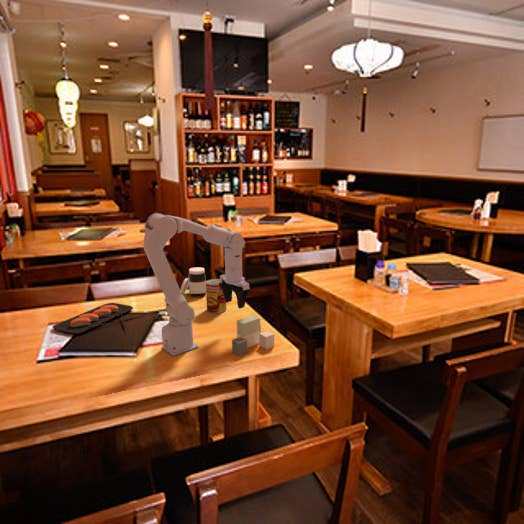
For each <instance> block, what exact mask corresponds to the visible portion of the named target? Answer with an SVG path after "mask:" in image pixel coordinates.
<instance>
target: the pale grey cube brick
mask: <svg viewBox="0 0 524 524" xmlns="http://www.w3.org/2000/svg"><path fill="white" fill-rule="evenodd" d="M259 339H260V343H259V347H261V348H262V349H265V350H269V349H271V348H274V347H275V334H274V333H272V332H271V331H268V330H266V331H263V332H261V333H260V334H259Z"/></svg>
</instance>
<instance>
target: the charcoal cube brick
mask: <svg viewBox="0 0 524 524" xmlns="http://www.w3.org/2000/svg"><path fill="white" fill-rule="evenodd" d="M231 348H232V349H231V350H232V354H234V355H236V356H238V357H241V356H243V355H246V354H248V348H247V340H245V339H244V338H242V337H239V338H237V337H236V338H233V339H231Z"/></svg>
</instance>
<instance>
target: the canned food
mask: <svg viewBox="0 0 524 524" xmlns="http://www.w3.org/2000/svg"><path fill="white" fill-rule="evenodd" d="M219 283H222V281H220V278H211V279H208V280H206V294H205V295H206V311H207V312H208V313H210V314H222V313H224V312H226V311H227V308H228V307H227V303H226V301H225V298H224V295H223V292H222V290H221V288H220V286H219Z"/></svg>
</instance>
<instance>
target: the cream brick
mask: <svg viewBox="0 0 524 524" xmlns="http://www.w3.org/2000/svg"><path fill="white" fill-rule="evenodd" d="M259 334H260V331H258V332H255V333H252V334H249V335H246V336H241V335H240V334H238V333H237V332H236V338H239V337H242V338H244V339H245V340H247V349H248V348H249V347H253V346H256V345H260V339H259Z"/></svg>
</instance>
